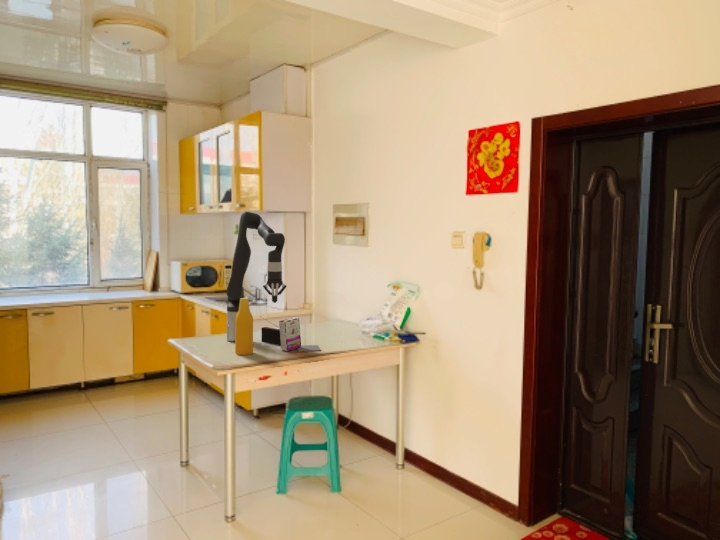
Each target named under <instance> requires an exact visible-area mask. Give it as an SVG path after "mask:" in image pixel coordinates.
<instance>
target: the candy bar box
mask: <svg viewBox="0 0 720 540" xmlns="http://www.w3.org/2000/svg"><path fill="white" fill-rule="evenodd" d="M278 327H279V329H280V339H281V346H280V351H283V352H284V351H285V352H289V351H292V350H296V349H297V348H299V347H301V346H302V342H301V341H302V340H301V338H302V337H301V327H300V318H299V317H295V316H293V317H288V318H286V319H283V320H282V319H281V320H278Z"/></svg>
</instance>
